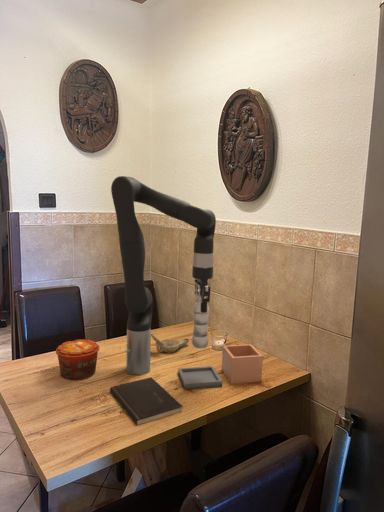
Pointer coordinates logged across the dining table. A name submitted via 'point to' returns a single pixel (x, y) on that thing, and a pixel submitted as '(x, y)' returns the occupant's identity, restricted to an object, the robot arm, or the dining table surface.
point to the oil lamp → (169, 344)
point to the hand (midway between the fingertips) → (201, 309)
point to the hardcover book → (145, 400)
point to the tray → (199, 377)
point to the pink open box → (242, 363)
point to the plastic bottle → (200, 325)
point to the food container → (77, 359)
